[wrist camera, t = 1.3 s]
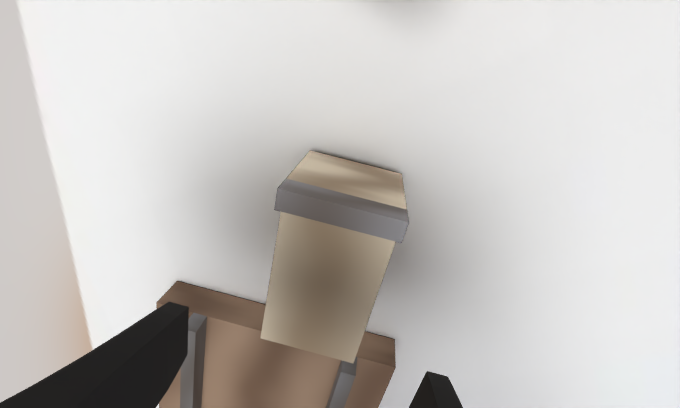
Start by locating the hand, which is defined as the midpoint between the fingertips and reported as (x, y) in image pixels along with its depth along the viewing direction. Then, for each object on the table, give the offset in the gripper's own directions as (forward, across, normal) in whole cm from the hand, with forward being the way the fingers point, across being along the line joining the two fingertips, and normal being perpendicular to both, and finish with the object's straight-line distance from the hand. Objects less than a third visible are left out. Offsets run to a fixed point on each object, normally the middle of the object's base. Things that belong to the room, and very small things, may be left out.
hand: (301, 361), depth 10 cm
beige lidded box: (+8, 0, 0) cm, 8 cm away
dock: (+8, +2, +14) cm, 16 cm away
